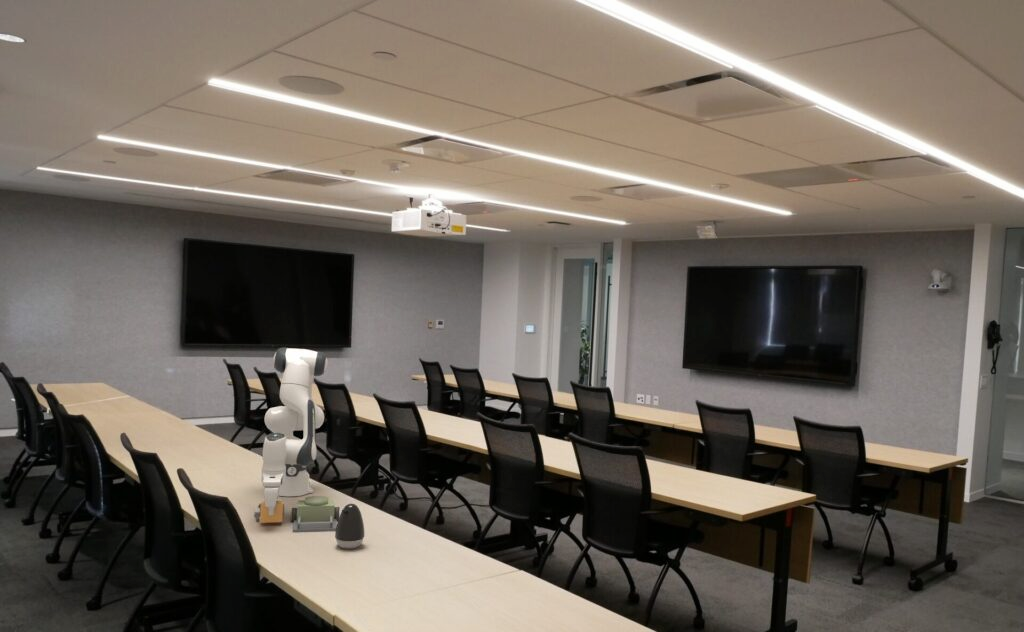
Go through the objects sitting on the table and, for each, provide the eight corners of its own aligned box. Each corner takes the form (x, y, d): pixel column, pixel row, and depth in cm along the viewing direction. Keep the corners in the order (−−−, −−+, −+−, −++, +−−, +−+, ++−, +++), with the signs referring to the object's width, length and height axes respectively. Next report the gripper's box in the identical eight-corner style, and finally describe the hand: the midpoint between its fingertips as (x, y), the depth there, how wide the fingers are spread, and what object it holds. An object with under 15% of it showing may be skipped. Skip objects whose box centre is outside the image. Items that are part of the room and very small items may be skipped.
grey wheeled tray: (292, 517, 286) (293, 496, 286) (338, 516, 291) (339, 495, 291) (289, 532, 268) (290, 509, 268) (339, 530, 273) (340, 508, 272)
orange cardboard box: (261, 519, 278) (261, 500, 278) (283, 518, 280) (284, 500, 280) (259, 522, 274) (260, 504, 274) (282, 522, 276) (283, 503, 276)
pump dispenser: (328, 548, 252) (330, 505, 252) (344, 540, 262) (346, 498, 262) (353, 553, 249) (355, 509, 249) (369, 544, 259) (371, 502, 258)
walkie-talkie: (253, 509, 297) (254, 523, 278) (253, 498, 297) (255, 512, 278) (275, 508, 300) (278, 522, 281) (276, 497, 300) (279, 511, 281)
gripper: (267, 470, 286) (265, 504, 286) (262, 483, 266) (260, 520, 266) (283, 470, 287) (282, 504, 288) (280, 483, 268) (278, 520, 268)
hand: (271, 512), depth 277 cm, fingers closed on orange cardboard box, 4 cm apart
